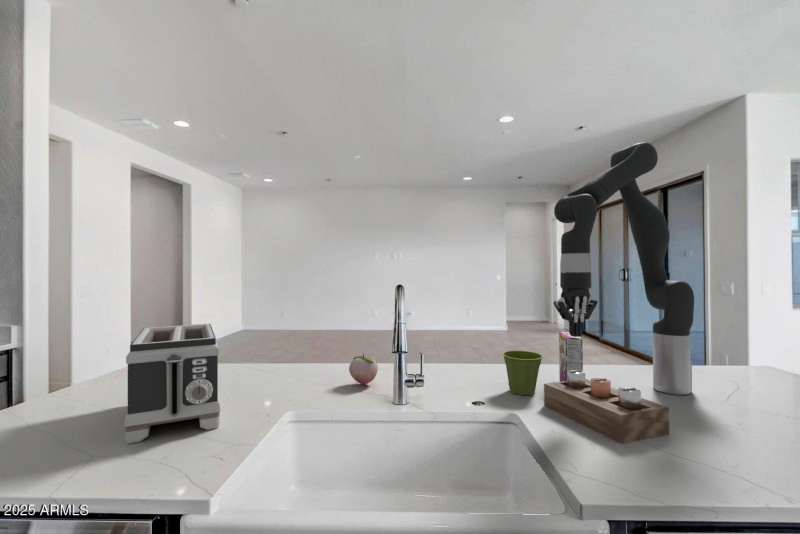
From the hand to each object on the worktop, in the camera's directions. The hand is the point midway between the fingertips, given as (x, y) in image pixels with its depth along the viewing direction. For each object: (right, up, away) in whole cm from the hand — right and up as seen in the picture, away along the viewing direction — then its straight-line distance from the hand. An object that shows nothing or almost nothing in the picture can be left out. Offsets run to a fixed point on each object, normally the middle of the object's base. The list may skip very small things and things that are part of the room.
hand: (575, 336), depth 103 cm
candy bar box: (+6, -19, +18) cm, 27 cm away
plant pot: (-10, -19, +13) cm, 25 cm away
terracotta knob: (+3, -13, -8) cm, 15 cm away
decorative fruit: (-58, -20, +21) cm, 65 cm away
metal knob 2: (+5, -13, -15) cm, 21 cm away
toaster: (-103, -20, -6) cm, 105 cm away
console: (+3, -19, -8) cm, 21 cm away
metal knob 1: (0, -13, 0) cm, 13 cm away
